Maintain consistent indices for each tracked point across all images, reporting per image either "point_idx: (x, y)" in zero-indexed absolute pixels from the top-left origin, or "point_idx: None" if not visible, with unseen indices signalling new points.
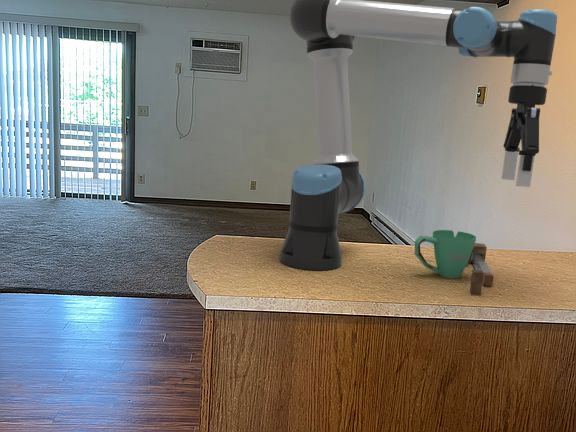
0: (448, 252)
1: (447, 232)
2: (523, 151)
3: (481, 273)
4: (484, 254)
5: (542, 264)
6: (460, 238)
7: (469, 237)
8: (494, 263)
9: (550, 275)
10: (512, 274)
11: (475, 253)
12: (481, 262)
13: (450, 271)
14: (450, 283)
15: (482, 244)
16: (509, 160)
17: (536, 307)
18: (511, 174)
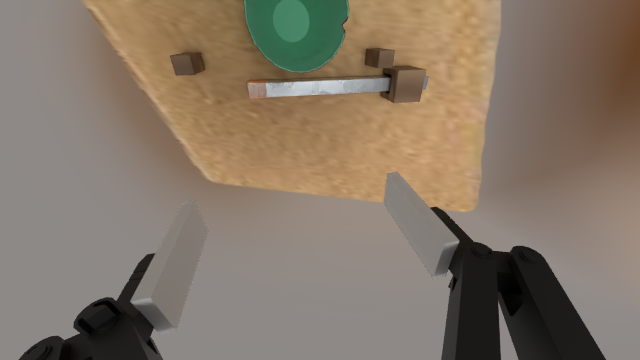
0: (254, 3)
1: (344, 1)
2: (85, 332)
3: (174, 70)
4: (388, 97)
5: (410, 176)
6: (336, 40)
7: (324, 60)
8: (399, 113)
9: (357, 179)
10: (343, 133)
11: None
12: (334, 86)
13: (267, 18)
14: (234, 18)
15: (414, 97)
16: (417, 229)
17: (185, 144)
18: (391, 206)
